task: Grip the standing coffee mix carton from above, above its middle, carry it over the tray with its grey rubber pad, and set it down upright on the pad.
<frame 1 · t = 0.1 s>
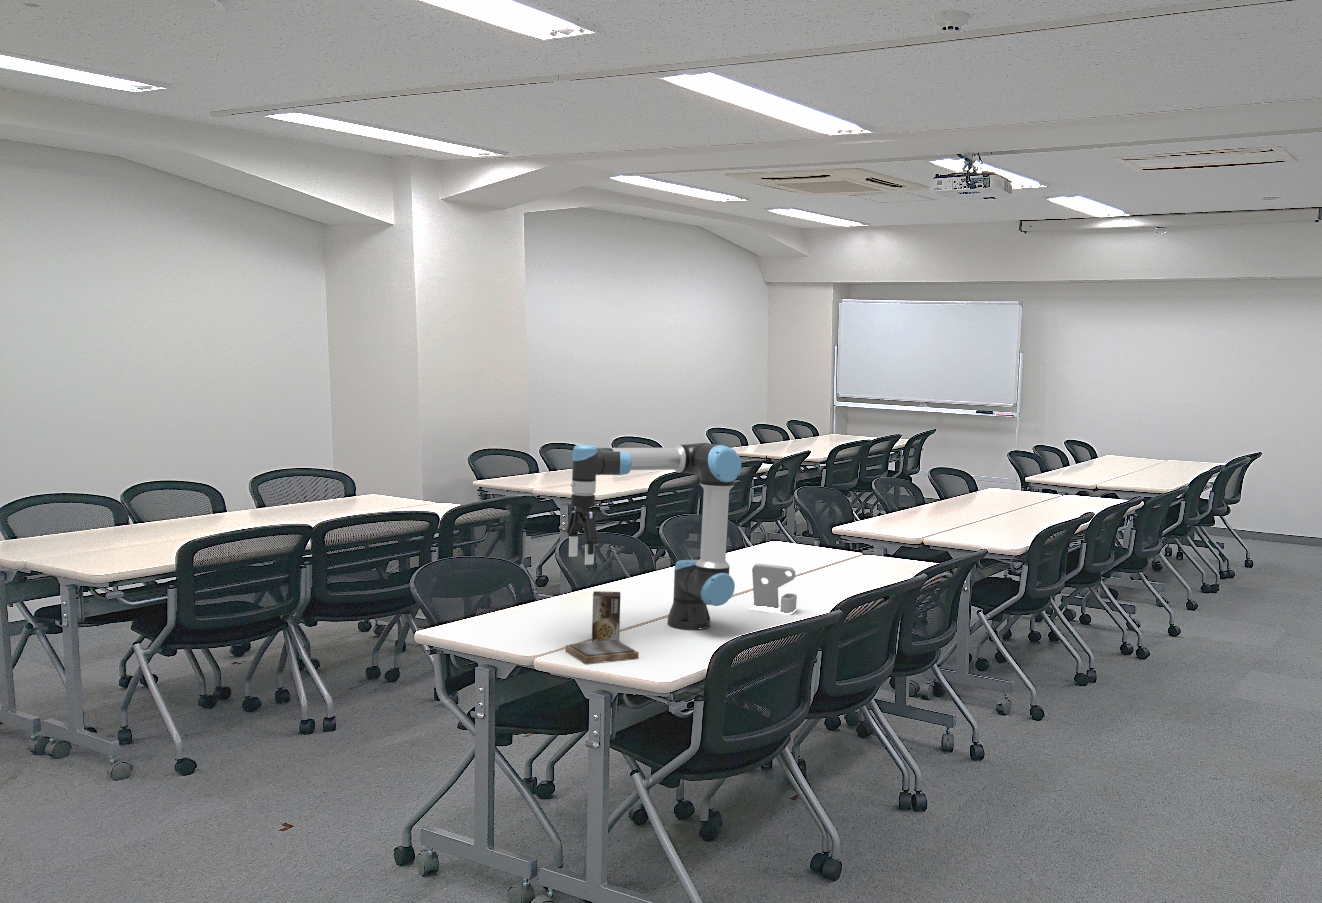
hand: (580, 560, 343), 28 cm above the table, tool pointing down, fingers open, 13 cm apart
coffee box: (605, 642, 353), on the table
tray: (601, 655, 337), on the table
grey bracket with cup: (772, 611, 409), on the table
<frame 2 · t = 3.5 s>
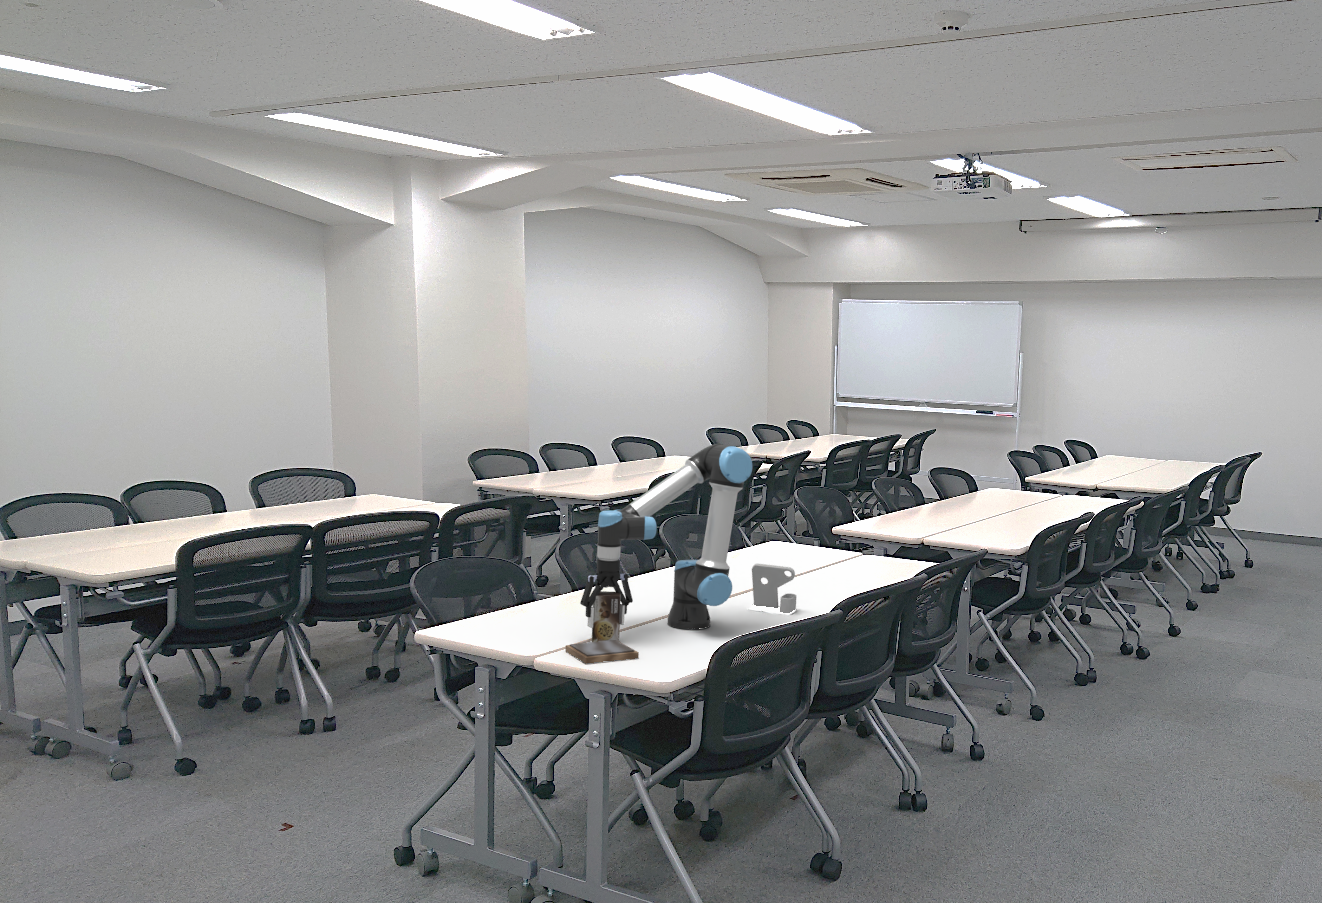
hand: (605, 625, 352), 5 cm above the table, tool pointing down, fingers closed on coffee box, 10 cm apart
coffee box: (605, 642, 353), on the table, touching gripper
everything else where it was.
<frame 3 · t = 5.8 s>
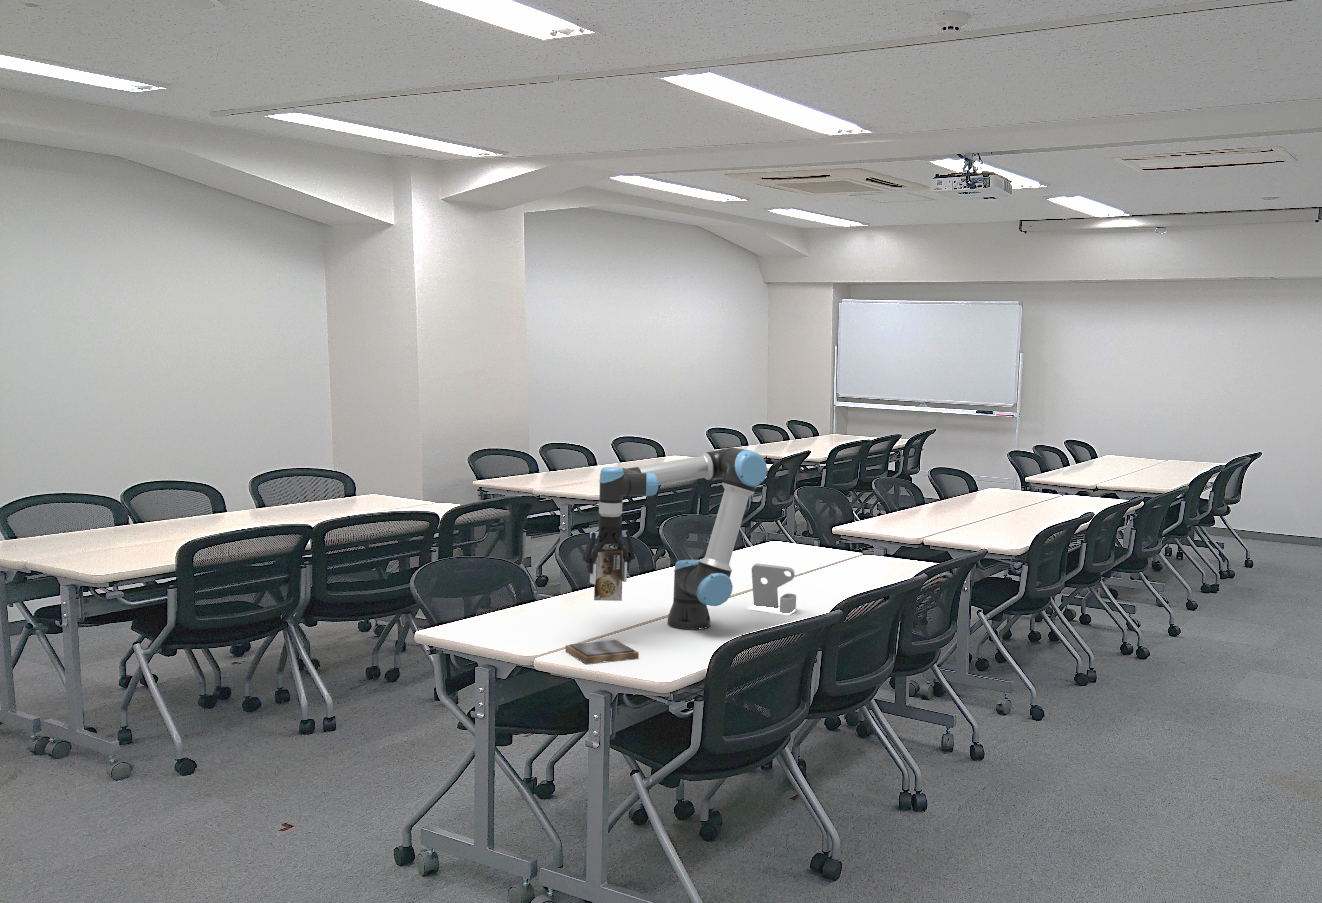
hand: (608, 582, 351), 20 cm above the table, tool pointing down, fingers closed on coffee box, 10 cm apart
coffee box: (607, 599, 352), point 14 cm above the table, touching gripper
everything else where it was.
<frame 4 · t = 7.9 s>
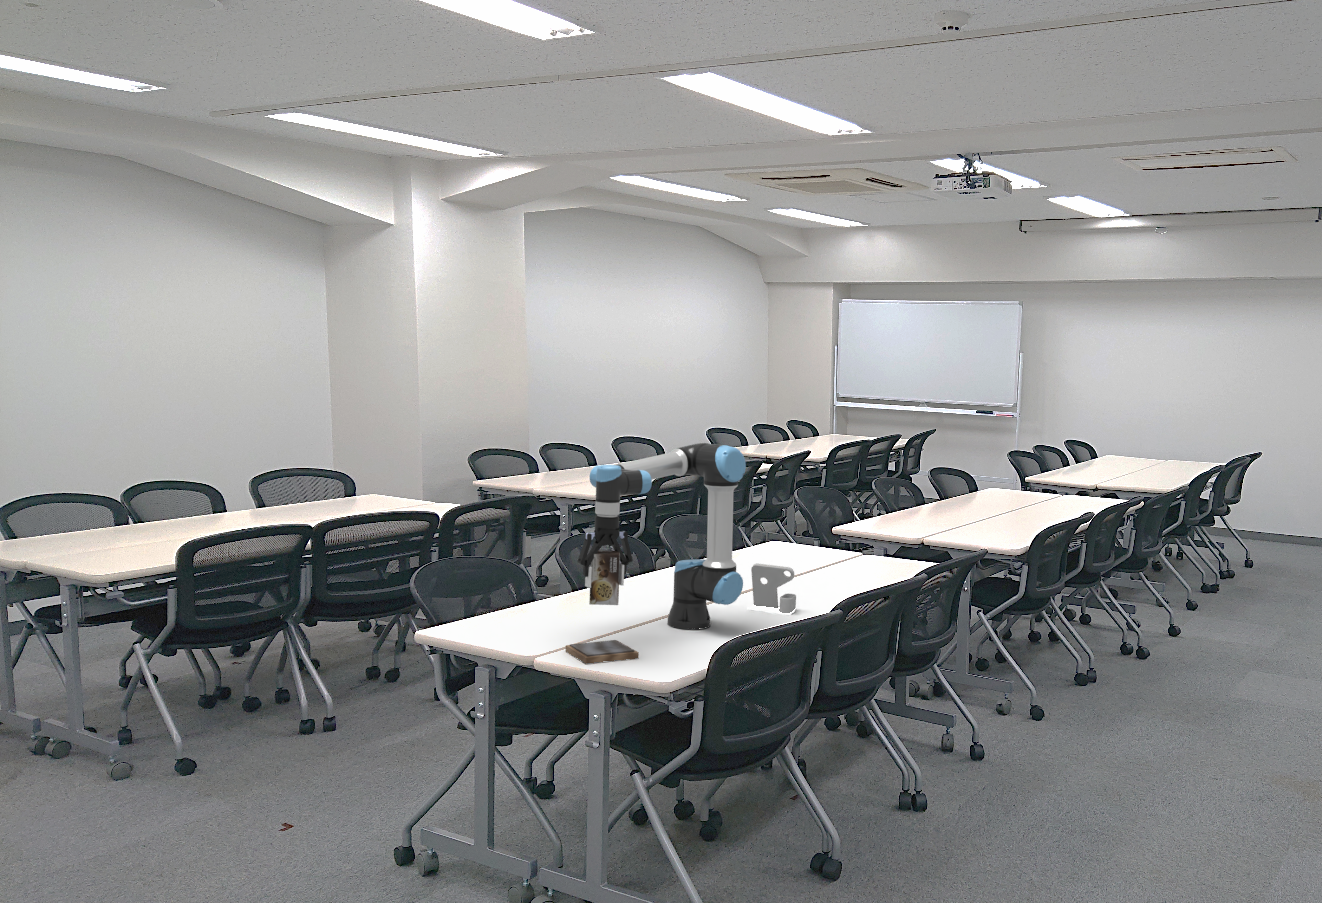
hand: (604, 585, 335), 22 cm above the table, tool pointing down, fingers closed on coffee box, 10 cm apart
coffee box: (603, 603, 336), point 16 cm above the table, touching gripper
everything else where it was.
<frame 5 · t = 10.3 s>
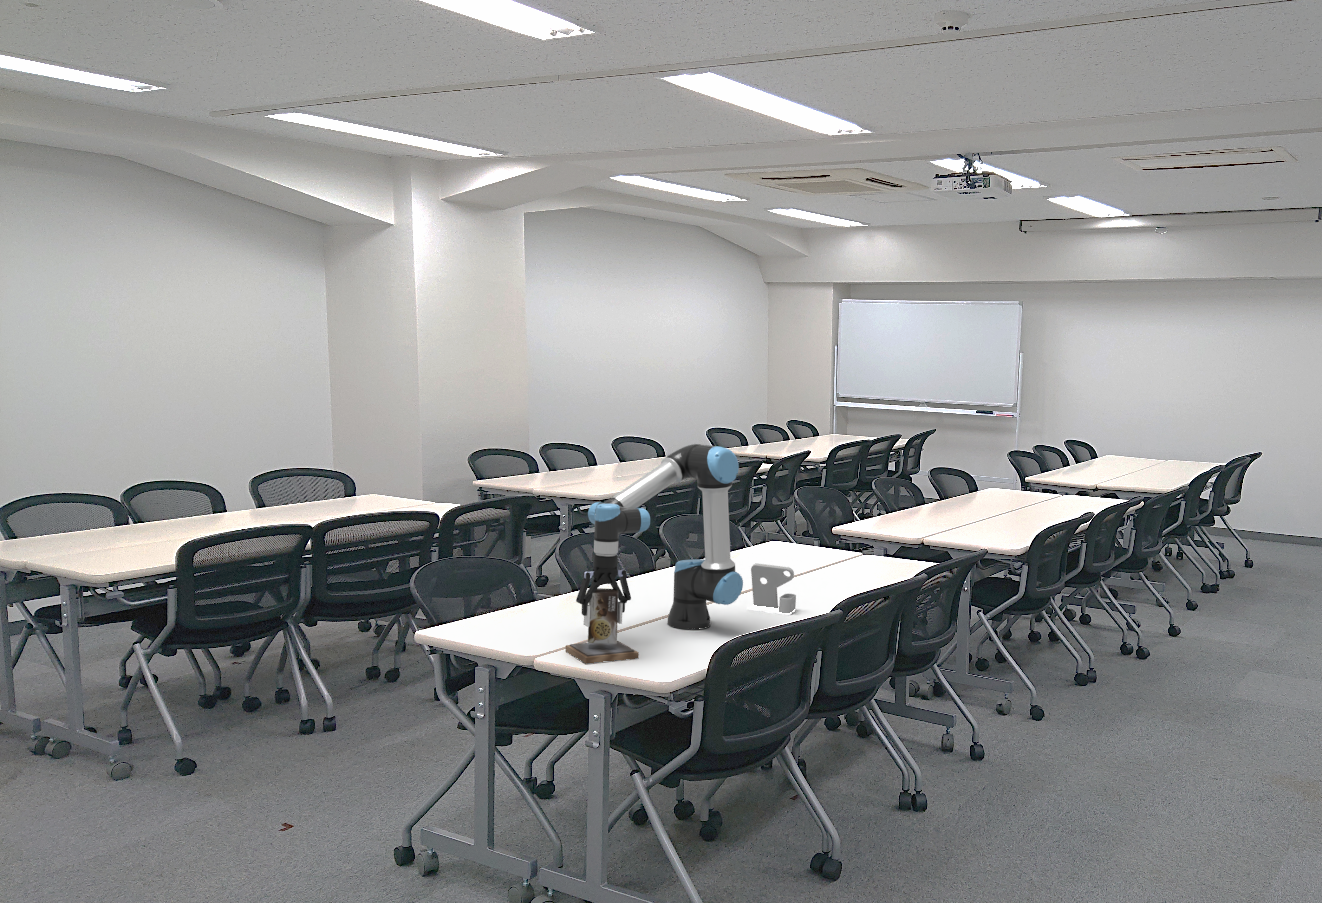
hand: (602, 624, 336), 10 cm above the table, tool pointing down, fingers closed on coffee box, 10 cm apart
coffee box: (602, 641, 336), point 4 cm above the table, touching gripper
everything else where it was.
when the fingers open (8 cm above the table, at t = 12.1 s): coffee box stays where it is, resting on tray.
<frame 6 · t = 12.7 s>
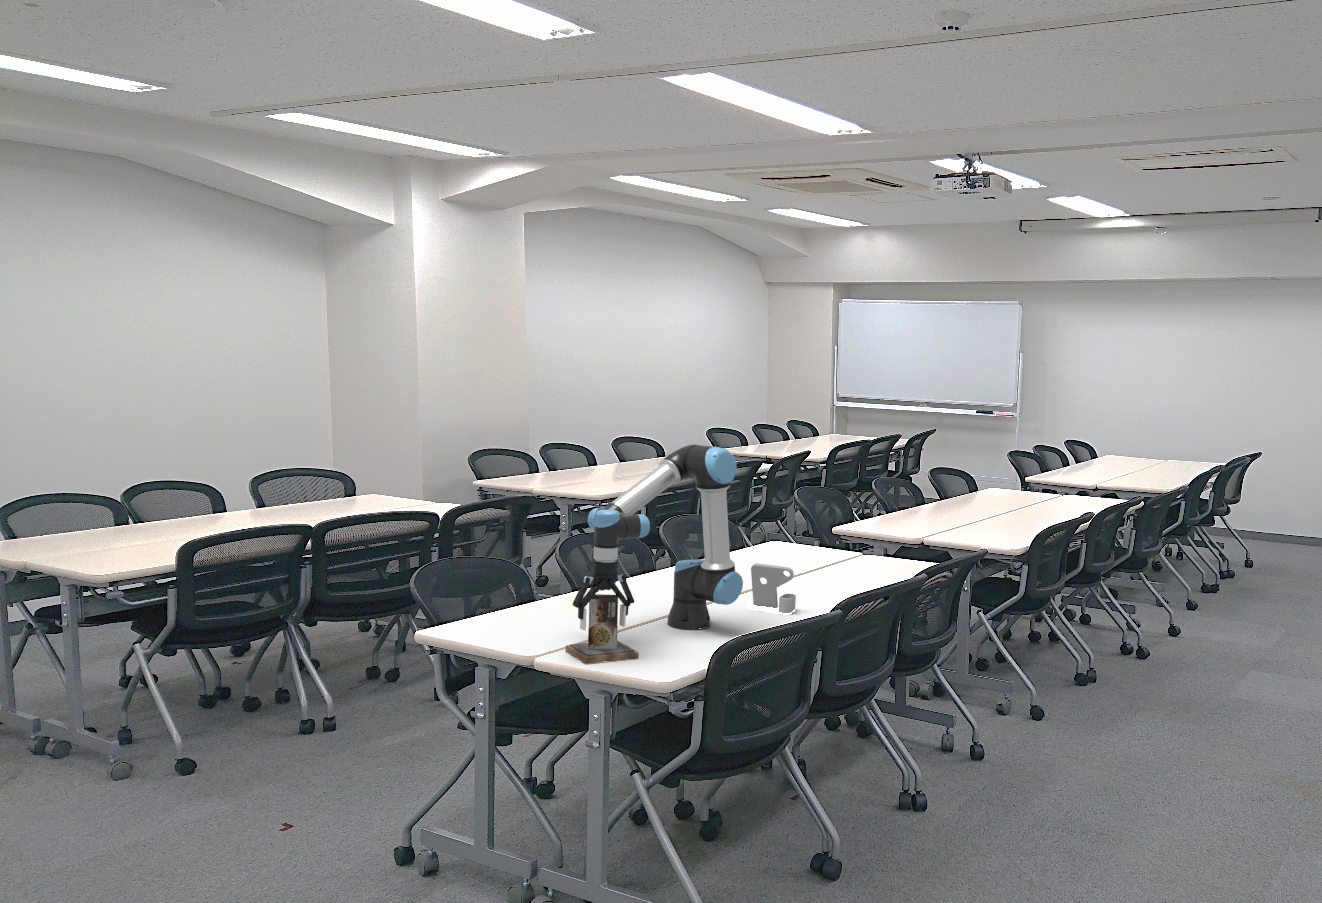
hand: (602, 627, 336), 9 cm above the table, tool pointing down, fingers open, 13 cm apart
coffee box: (602, 647, 337), point 2 cm above the table, touching tray
everything else where it was.
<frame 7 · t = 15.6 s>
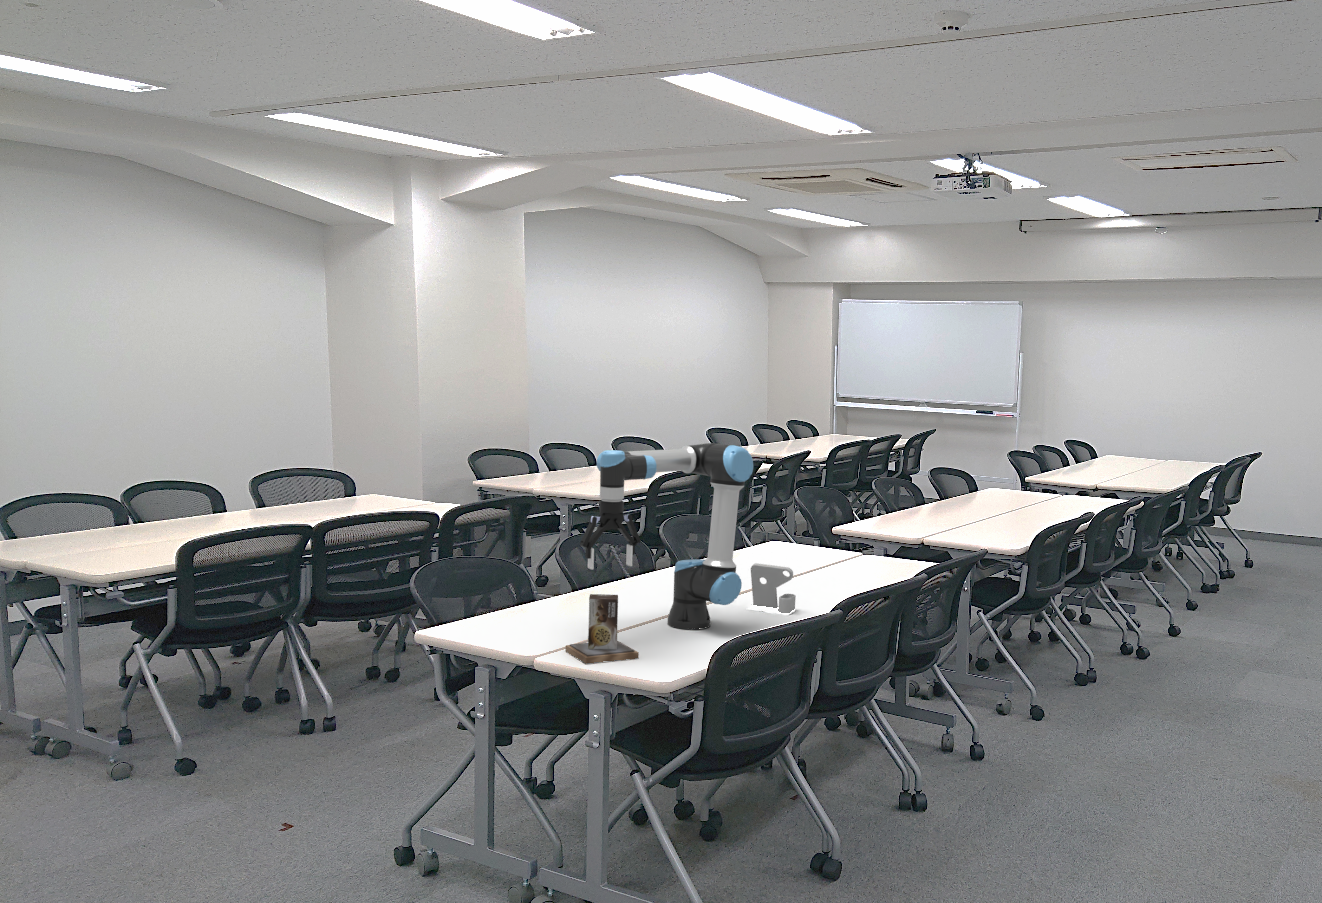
hand: (610, 567, 339), 27 cm above the table, tool pointing down, fingers open, 13 cm apart
nothing on the table moved.
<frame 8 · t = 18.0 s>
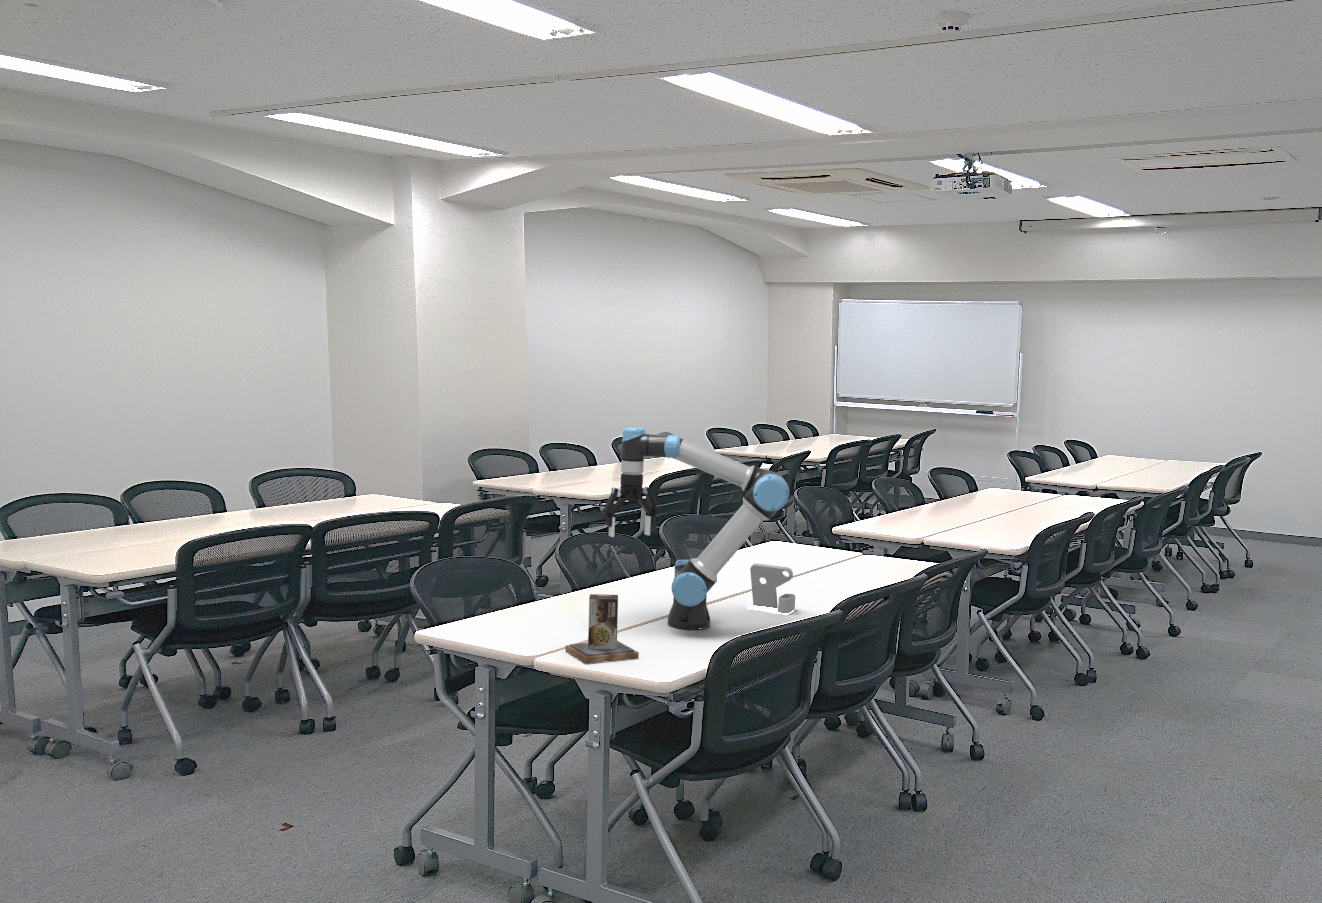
hand: (629, 535, 366), 33 cm above the table, tool pointing down, fingers open, 13 cm apart
nothing on the table moved.
at the end: coffee box inside the target area on the tray (0.1 cm from its centre), point 2.3 cm above the tray's base; coffee box tilted 0°; the gripper is holding nothing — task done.
